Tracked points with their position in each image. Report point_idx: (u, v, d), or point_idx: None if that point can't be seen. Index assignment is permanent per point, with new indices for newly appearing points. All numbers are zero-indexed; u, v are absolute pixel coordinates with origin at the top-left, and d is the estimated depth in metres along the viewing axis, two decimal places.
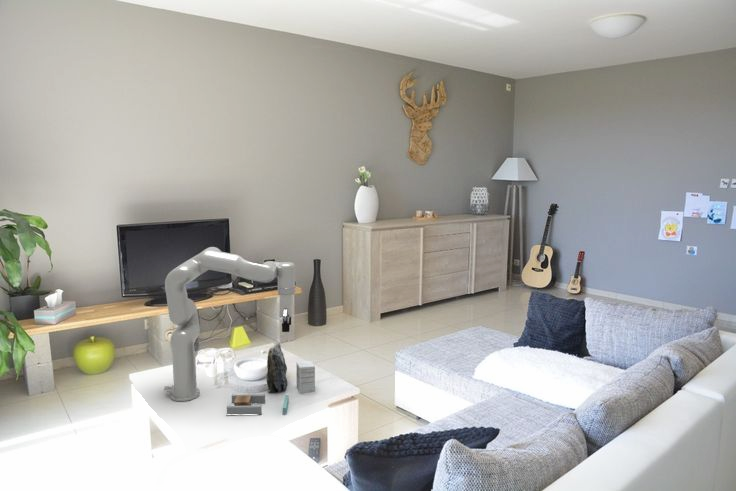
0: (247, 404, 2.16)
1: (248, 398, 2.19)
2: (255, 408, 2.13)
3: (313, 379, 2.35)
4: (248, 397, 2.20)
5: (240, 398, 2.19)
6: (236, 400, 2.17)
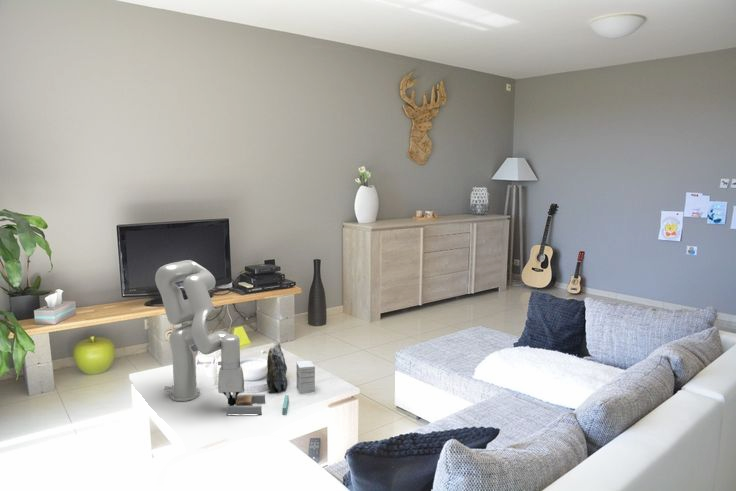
0: (249, 404, 2.16)
1: (250, 398, 2.19)
2: (255, 408, 2.13)
3: (313, 379, 2.35)
4: (250, 397, 2.20)
5: (241, 398, 2.19)
6: (238, 400, 2.17)
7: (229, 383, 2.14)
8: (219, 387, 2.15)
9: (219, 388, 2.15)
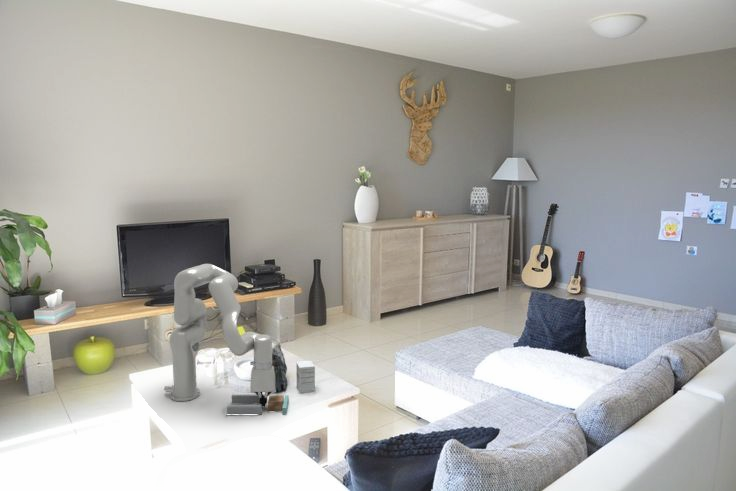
0: (281, 404, 2.17)
1: (281, 398, 2.20)
2: (255, 408, 2.13)
3: (313, 379, 2.35)
4: (281, 397, 2.21)
5: (273, 398, 2.20)
6: (269, 400, 2.18)
7: (261, 383, 2.15)
8: (251, 387, 2.15)
9: (251, 388, 2.15)
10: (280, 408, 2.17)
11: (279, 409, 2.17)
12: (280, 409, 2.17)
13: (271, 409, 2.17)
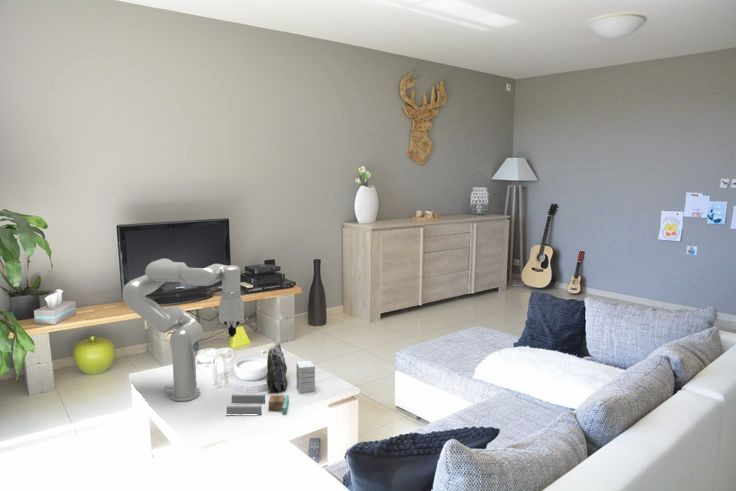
0: (281, 404, 2.17)
1: (282, 398, 2.20)
2: (255, 408, 2.13)
3: (313, 379, 2.35)
4: (282, 397, 2.21)
5: (274, 398, 2.20)
6: (270, 400, 2.18)
7: (230, 312, 2.19)
8: (220, 316, 2.19)
9: (220, 317, 2.19)
10: (281, 408, 2.17)
11: (280, 409, 2.18)
12: (281, 409, 2.18)
13: (272, 409, 2.17)
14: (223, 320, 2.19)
